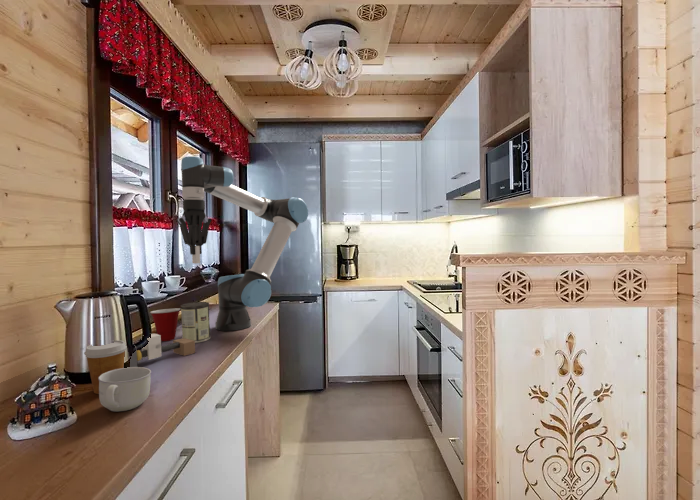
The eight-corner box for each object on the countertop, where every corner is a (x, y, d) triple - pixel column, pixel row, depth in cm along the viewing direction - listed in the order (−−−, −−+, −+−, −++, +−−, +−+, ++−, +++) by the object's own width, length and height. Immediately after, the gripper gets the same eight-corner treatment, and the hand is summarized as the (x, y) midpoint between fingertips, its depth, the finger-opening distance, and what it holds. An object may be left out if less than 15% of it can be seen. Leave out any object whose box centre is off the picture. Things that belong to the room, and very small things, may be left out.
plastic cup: (180, 334, 158) (178, 305, 157) (183, 340, 149) (182, 309, 148) (150, 338, 152) (149, 308, 152) (152, 344, 143) (151, 313, 143)
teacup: (119, 396, 96) (117, 365, 96) (161, 396, 96) (159, 364, 95) (78, 423, 82) (76, 387, 82) (127, 423, 82) (125, 387, 82)
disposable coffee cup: (109, 381, 107) (107, 339, 106) (137, 383, 104) (134, 340, 104) (77, 395, 98) (74, 349, 97) (106, 398, 95) (104, 351, 95)
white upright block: (154, 354, 126) (153, 333, 126) (161, 356, 123) (160, 335, 123) (142, 357, 123) (141, 336, 122) (149, 359, 120) (148, 338, 120)
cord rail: (184, 349, 136) (183, 330, 135) (195, 352, 131) (194, 332, 131) (117, 367, 118) (116, 345, 118) (127, 372, 114) (126, 349, 114)
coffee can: (190, 336, 154) (189, 301, 154) (215, 336, 153) (213, 301, 153) (176, 343, 144) (175, 306, 144) (202, 343, 143) (201, 306, 143)
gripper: (182, 197, 133) (185, 264, 134) (215, 199, 143) (217, 262, 144) (171, 199, 137) (174, 264, 138) (203, 201, 148) (206, 261, 148)
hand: (196, 263), depth 141 cm, fingers closed
